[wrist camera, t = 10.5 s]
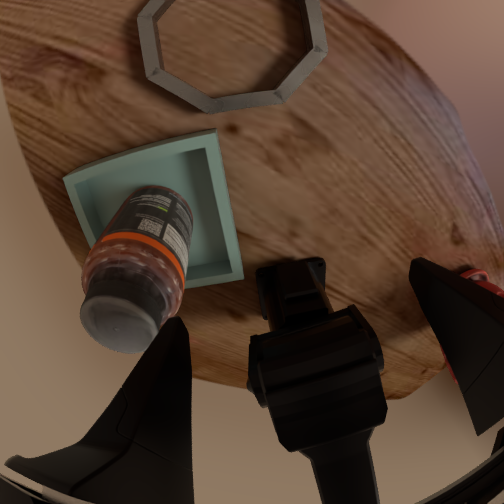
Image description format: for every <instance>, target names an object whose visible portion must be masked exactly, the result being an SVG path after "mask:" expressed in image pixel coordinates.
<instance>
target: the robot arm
mask: <svg viewBox="0 0 504 504" xmlns="http://www.w3.org/2000/svg"><path fill="white" fill-rule="evenodd" d="M320 262H322V263H321V264H319V263H320ZM260 273H263V274H262V275H259V274H260ZM325 273H326V263H325V260H324V259H323V258H315V259H310V260H303V261H298V262H292V263H287V264H281V265H277V266H271V267H265V268H260V269H257V270H256V272H255V275H256V281H257V287H258V293H259V299H260V304H261V310H262V316H263V319H264V320H268V323H269V328H270V332H268V333H264V334H261V335H257V334H256V335H253V336H250V344H249V363H248V380H247V389H248V390H249V391H250V392H252V393H253V394H254V395H255V397H256V398H257V401H258V403H259V404H260V406H261V407H262V408H266V407H268V409H269V412H270V415H271V418H272V421H273V425H274V428H275V431H276V433H277V436H278V440H279V442H280V443H281V444H282V445H283V446H284V447H285V448H286V449H287V450H288V451H289V452H295V451H299V452H300V453H302V454H303V455H304V456H306V457H307V458H309V459H310V461H311V465H312V468H313V472H314V475H315V479H316V483H317V486H318V490H319V493H320V497H321V501H322V504H380V500H379V494H378V488H377V483H376V477H375V472H374V466H373V461H372V456H371V451H370V446H369V440H370V437H371V435H372V433H373V431H374V428H375V427H376V426H379V425H381V424H383V423H384V422H385V418H386V414H387V410H388V407H387V403H386V400H385V396H384V392H383V387H382V382H381V377H380V373H379V372H382V371H383V369H384V359H383V353H382V349H381V346H380V343H379V340H378V338H377V335H376V333H375V332H374V330H373V328H372V327H371V326H370V324H369V323H368V322H367V321H366V319H365V318H364V317H363V315H362V314H361V313H360V311H359V310H358V309H357V308H356V306H355V305H354V304H353V305H350V306H347V308H345V309H342V310H339V311H336V312H334V310H333V308H332V306H331V304H330V301H329V299H328V297H327V295H326V292H325ZM409 281H410V283H411V286H412V288H413V290H414V292H415V294H416V297H417V299H418V301H419V304H420V306H421V308H422V310H423V312H424V314H425V316H426V318H427V320H428V322H429V324H430V326H431V328H432V330H433V331H434V333H435V335H436V337H437V339H438V341H439V343H440V345H441V347H442V349H443V352H444V354H445V356H446V358H447V360H448V362H449V364H450V367H451V369H452V371H453V373H454V376H455V378H456V380H457V383H458V385H459V387H460V390H461V392H462V394H463V397H464V400H465V403H466V406H467V408H468V411H469V414H470V416H471V419H472V422H473V425H474V428H475V431H476V434H477V436H479V435H481V434H482V433H484V432H485V431H486V430H488V429H489V428H490V427H492V426H493V425H494V424H496V423H497V422H498V421H500V420H501V419H502V418H503V417H504V298H503V297H501V296H499V295H497V294H495V293H494V292H492V291H489V290H488V289H486V288H484V287H482V286H480V285H478V284H476V283H474V282H472V281H470V280H468V279H466V278H464V277H462V276H460V275H458V274H456V273H454V272H452V271H450V270H448V269H446V268H444V267H442V266H440V265H437V264H435V263H433V262H431V261H429V260H427V259H425V258H422V257H418V258H415V259H413V260H412V261H411V265H410V270H409ZM266 315H267V316H266ZM191 396H192V366H191V355H190V343H189V333H188V330H187V328H186V327H185V325H184V323H183V321H182V320H181V318H180V317H179V316H175V317H170V318H168V319H167V321H166V322H165V323H164V325H163V326H162V328H161V329H160V331H159V332H158V333H157V335H156V336H155V338H154V339H153V341H152V342H151V344H150V345H149V346H148V348H147V349H146V351H145V352H144V354H143V355H142V357H141V358H140V360H139V361H138V363H137V364H136V366H135V367H134V369H133V370H132V371H131V373H130V374H129V376H128V377H127V379H126V381H125V382H124V384H123V385H122V388H120V389H119V391H118V392H117V394H116V395H115V397H114V398H113V400H112V401H111V403H110V404H109V405H108V407H107V408H106V409H105V411H104V412H103V413H102V415H101V416H100V417H99V418H98V420H97V421H96V422H95V423H94V425H93V426H92V427H91V428H90V430H89V431H88V432H87V434H86V435H85V436H84V437H83V438H82V439H81V440H80V441H79V442H77V443H75V444H74V445H71V446H69V447H66V448H63V449H60V450H58V451H54V452H51V453H48V454H45V455H42V456H39V457H35V458H24V457H22V456H19V455H15V456H12V457H11V458H9V459H8V460H7V461H6V462H5V464H4V465H5V466H7V467H8V468H10V469H12V470H14V471H15V472H18V473H19V474H21V475H23V476H25V477H27V478H29V479H31V480H33V481H35V482H37V483H39V484H41V485H43V486H42V492H39V491H37V490H34V489H32V488H29V487H27V486H25V485H23V484H21V483H18V482H16V481H14V480H12V479H10V478H8V477H6V476H4V475H2V474H0V504H194V489H193V471H192V432H191V431H192V429H191V400H192V399H191V398H192V397H191ZM415 504H504V427H502V428H501V429H500V430H499V431H498V433H497V437H496V440H495V444H494V447H493V450H492V453H491V457H490V458H488V459H487V460H485V461H484V462H483V463H481V464H480V465H479V466H477V467H476V468H475V469H473V470H472V471H470V472H469V473H467V474H466V475H464V476H463V477H461V478H460V479H458V480H457V481H455V482H453V483H452V484H450V485H448V486H447V487H445V488H443V489H442V490H440V491H438V492H436V493H434V494H433V495H431V496H429V497H427V498H425V499H423V500H421V501H419V502H417V503H415Z"/></svg>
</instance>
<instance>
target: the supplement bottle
mask: <svg viewBox="0 0 504 504" xmlns="http://www.w3.org/2000/svg"><path fill="white" fill-rule="evenodd" d="M192 232H193V215H192V212H191V209H190V207H189V205H188V203H187V202H186V200H185V199H184V198H183V197H182V196H181V195H180V194H178V193H177V192H175V191H174V190H172V189H170V188H167V187H163V186H157V185H155V186H154V185H151V186H146V187H143V188H140V189H138V190H136V191H135V192H133V193H132V194H131V195H130V196H129V197H128V198H127V199H126V200H125V201H124V202H123V204H122V205H121V206H120V208H119V209H118V211H117V212H116V213H115V215H114V216H113V217H112V219H111V220H110V222H109V223H108V225H107V226H106V228H105V229H104V230H103V232H102V233H101V235H100V236H99V238H98V239H97V241H96V242H95V244H94V245H93V247H92V249H91V250H90V252H89V254H88V255H87V257H86V259H85V262H84V265H83V268H82V277H81V278H82V279H81V280H82V287H83V291H84V293H85V295H86V297H85V300H84V302H83V304H82V306H81V310H80V319H81V323H82V325H83V327H84V328H85V330H86V331H87V333H88V334H89V335H90V336H91V337H92V338H93V339H94V340H95V341H97V342H98V343H99V344H101V345H102V346H104V347H107V348H109V349H111V350H114V351H117V352H122V353H128V354H132V353H140V352H144V351H146V349H147V348H148V346H149V345H150V344H151V342H152V341H153V339H154V338H155V336H156V335H157V333H158V332H159V328H160V326H161V325H163V324H164V323H165V322H166V321H167V319H168V318H170V317H173V316H174V315H175V314H176V313H177V311H178V309H179V308H180V305H181V302H182V298H183V293H184V286H185V278H186V271H187V265H188V258H189V251H190V244H191V238H192Z"/></svg>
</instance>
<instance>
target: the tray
mask: <svg viewBox="0 0 504 504" xmlns="http://www.w3.org/2000/svg"><path fill="white" fill-rule="evenodd" d="M63 181H64V183H65V186H66V189H67V192H68V195H69V197H70V200H71V203H72V205H73V208H74V210H75V213H76V215H77V218H78V220H79V223H80V225H81V227H82V230H83V232H84V234H85V237H86V239H87V241H88V243H89V246H90V248H91V249H92V247H93V245H94V244H95V242H96V241H97V239H98V238H99V236H100V235H101V233H102V232H103V230H104V229H105V228H106V226H107V225H108V223H109V222H110V220H111V219H112V217H113V216H114V215H115V213H116V212H117V211H118V209H119V208H120V206H121V205H122V204H123V202H124V201H125V200H126V199H127V198H128V197H129V196H130V195H131V194H132V193H133V192H135V191H136V190H138V189H140V188H143V187H146V186H151V185H154V186H155V185H157V186H163V187H167V188H170V189H172V190H174V191H175V192H177V193H178V194H180V195H181V196H182V197H183V198H184V199H185V200H186V202H187V203H188V205H189V207H190V209H191V212H192V215H193V232H192V238H191V244H190V251H189V258H188V265H187V271H186V278H185V286H184V289H187V288H194V287H200V286H206V285H212V284H218V283H224V282H230V281H236V280H242V279H244V273H243V265H242V258H241V253H240V248H239V243H238V238H237V233H236V228H235V223H234V218H233V213H232V208H231V203H230V197H229V192H228V187H227V182H226V176H225V171H224V166H223V161H222V155H221V150H220V145H219V139H218V134H217V128H214V129H209V130H204V131H199V132H195V133H190V134H186V135H181V136H177V137H173V138H169V139H165V140H161V141H157V142H154V143H150V144H147V145H143V146H140V147H136V148H133V149H130V150H126V151H123V152H120V153H117V154H114V155H111V156H108V157H105V158H102V159H99V160H97V161H94V162H91V163H88V164H86V165H83V166H80V167H78V168H76V169H75V170H73V171H72V172H70V173H69V174H67V175H66V176H64V177H63Z"/></svg>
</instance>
